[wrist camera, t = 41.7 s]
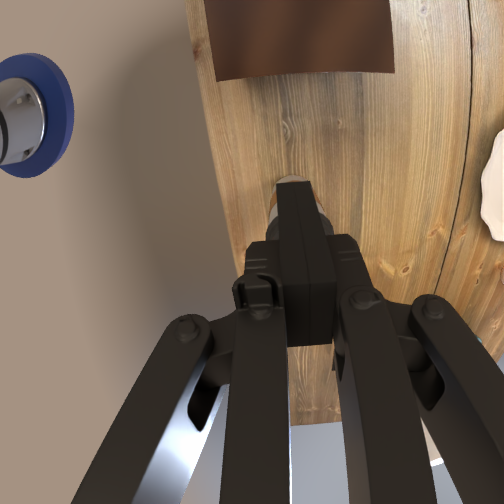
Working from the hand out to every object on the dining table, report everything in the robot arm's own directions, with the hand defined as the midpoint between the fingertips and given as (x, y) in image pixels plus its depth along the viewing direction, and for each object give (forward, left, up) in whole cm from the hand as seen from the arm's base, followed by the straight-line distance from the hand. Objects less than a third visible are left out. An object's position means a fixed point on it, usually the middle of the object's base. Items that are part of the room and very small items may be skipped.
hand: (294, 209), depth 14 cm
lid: (-1, +12, -19) cm, 23 cm away
